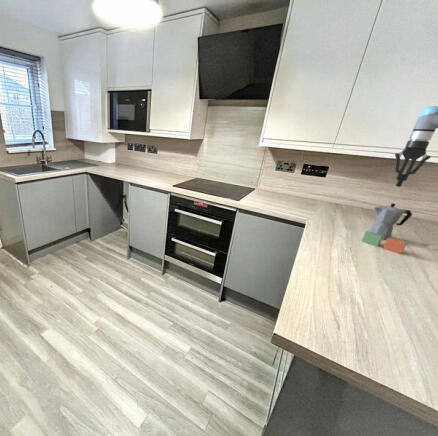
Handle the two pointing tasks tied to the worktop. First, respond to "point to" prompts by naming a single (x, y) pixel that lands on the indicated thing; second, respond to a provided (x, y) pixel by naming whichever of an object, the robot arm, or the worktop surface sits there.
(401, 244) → the pair of rectangular blocks
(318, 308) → the worktop surface
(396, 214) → the coffeepot
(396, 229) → the worktop surface
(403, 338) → the worktop surface
